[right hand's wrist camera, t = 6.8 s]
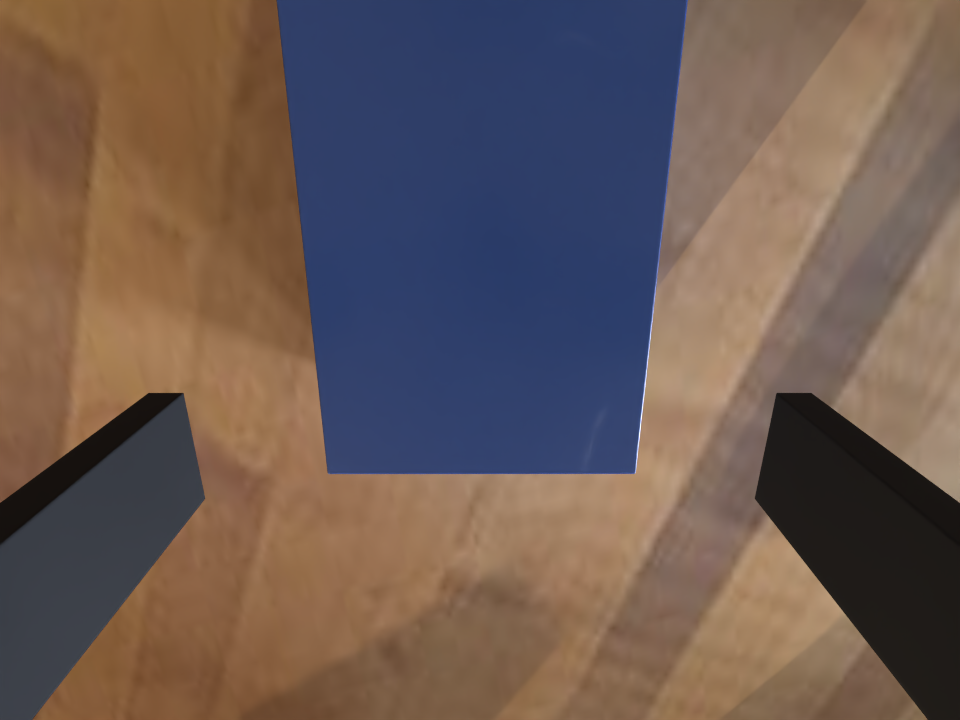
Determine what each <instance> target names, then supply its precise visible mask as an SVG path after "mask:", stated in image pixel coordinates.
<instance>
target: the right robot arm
mask: <svg viewBox="0 0 960 720" xmlns="http://www.w3.org/2000/svg"><path fill="white" fill-rule="evenodd" d="M204 499H205V496H204V491H203V486H202V481H201V476H200V471H199V466H198V462H197V457H196V452H195V447H194V442H193V437H192V433H191V428H190V423H189V418H188V413H187V408H186V403H185V399H184V394H183V393H148V394H147V395H146V396H144V397H143V398H141V399H140V400H139V401H137V402H136V403H135V404H133V405H132V406H131V407H129V408H128V409H127V410H125V411H124V412H123V413H121V414H120V415H119V416H117V417H116V418H114V419H113V420H112V421H110V422H109V423H108V424H106V425H105V426H104V427H102V428H101V429H100V430H98V431H97V432H96V433H94V434H93V435H92V436H90V437H89V438H87V439H86V440H85V441H83V442H82V443H81V444H79V445H78V446H77V447H75V448H74V449H73V450H71V451H70V452H69V453H67V454H66V455H65V456H63V457H62V458H60V459H59V460H58V461H56V462H55V463H54V464H52V465H51V466H50V467H48V468H47V469H46V470H44V471H43V472H42V473H40V474H39V475H38V476H36V477H35V478H33V479H32V480H31V481H29V482H28V483H27V484H25V485H24V486H23V487H21V488H20V489H19V490H17V491H16V492H15V493H13V494H12V495H11V496H9V497H8V498H6V499H5V500H4V501H2V502H1V503H0V720H32V719H33V718H34V716H35V715H36V714H37V713H38V711H39V710H40V709H41V708H42V706H43V705H44V704H45V702H46V701H47V700H48V699H49V697H50V696H51V695H52V693H53V692H54V691H55V690H56V688H57V687H58V686H59V685H60V683H61V682H62V681H63V679H64V678H65V677H66V676H67V674H68V673H69V672H70V670H71V669H72V668H73V667H74V665H75V664H76V663H77V662H78V660H79V659H80V658H81V656H82V655H83V654H84V653H85V651H86V650H87V649H88V648H89V646H90V645H91V644H92V642H93V641H94V640H95V639H96V637H97V636H98V635H99V633H100V632H101V631H102V630H103V628H104V627H105V626H106V625H107V623H108V622H109V621H110V619H111V618H112V617H113V616H114V614H115V613H116V612H117V610H118V609H119V608H120V607H121V605H122V604H123V603H124V602H125V600H126V599H127V598H128V596H129V595H130V594H131V593H132V591H133V590H134V589H135V588H136V586H137V585H138V584H139V582H140V581H141V580H142V579H143V577H144V576H145V575H146V573H147V572H148V571H149V570H150V568H151V567H152V566H153V565H154V563H155V562H156V561H157V559H158V558H159V557H160V556H161V554H162V553H163V552H164V550H165V549H166V548H167V547H168V545H169V544H170V543H171V542H172V540H173V539H174V538H175V536H176V535H177V534H178V533H179V531H180V530H181V529H182V528H183V526H184V525H185V524H186V522H187V521H188V520H189V519H190V517H191V516H192V515H193V513H194V512H195V511H196V510H197V508H198V507H199V506H200V505H201V503H202V502H203V501H204ZM755 499H756V501H757V502H758V503H759V505H760V506H761V507H762V508H763V510H764V511H765V512H766V513H767V515H768V516H769V517H770V519H771V520H772V521H773V522H774V524H775V525H776V526H777V528H778V529H779V530H780V531H781V533H782V534H783V535H784V536H785V538H786V539H787V540H788V542H789V543H790V544H791V545H792V547H793V548H794V549H795V550H796V552H797V553H798V554H799V556H800V557H801V558H802V559H803V561H804V562H805V563H806V565H807V566H808V567H809V568H810V570H811V571H812V572H813V573H814V575H815V576H816V577H817V579H818V580H819V581H820V582H821V584H822V585H823V586H824V588H825V589H826V590H827V591H828V593H829V594H830V595H831V596H832V598H833V599H834V600H835V602H836V603H837V604H838V605H839V607H840V608H841V609H842V610H843V612H844V613H845V614H846V616H847V617H848V618H849V619H850V621H851V622H852V623H853V625H854V626H855V627H856V628H857V630H858V631H859V632H860V633H861V635H862V636H863V637H864V639H865V640H866V641H867V642H868V644H869V645H870V646H871V648H872V649H873V650H874V651H875V653H876V654H877V655H878V656H879V658H880V659H881V660H882V662H883V663H884V664H885V665H886V667H887V668H888V669H889V670H890V672H891V673H892V674H893V676H894V677H895V678H896V679H897V681H898V682H899V683H900V685H901V686H902V687H903V688H904V690H905V691H906V692H907V693H908V695H909V696H910V697H911V699H912V700H913V701H914V702H915V704H916V705H917V706H918V708H919V709H920V710H921V711H922V713H923V714H924V715H925V716H926V718H927V719H928V720H960V503H959V502H958V501H956V500H955V499H954V498H952V497H951V496H949V495H948V494H947V493H945V492H944V491H943V490H941V489H940V488H939V487H937V486H936V485H935V484H933V483H932V482H931V481H929V480H928V479H927V478H925V477H924V476H922V475H921V474H920V473H918V472H917V471H916V470H914V469H913V468H912V467H910V466H909V465H908V464H906V463H905V462H904V461H902V460H901V459H900V458H898V457H897V456H895V455H894V454H893V453H891V452H890V451H889V450H887V449H886V448H885V447H883V446H882V445H881V444H879V443H878V442H877V441H875V440H874V439H873V438H871V437H870V436H868V435H867V434H866V433H864V432H863V431H862V430H860V429H859V428H858V427H856V426H855V425H854V424H852V423H851V422H850V421H848V420H847V419H846V418H844V417H843V416H841V415H840V414H839V413H837V412H836V411H835V410H833V409H832V408H831V407H829V406H828V405H827V404H825V403H824V402H823V401H821V400H820V399H819V398H817V397H816V396H814V395H813V394H812V393H777V394H776V399H775V403H774V408H773V413H772V418H771V423H770V428H769V433H768V437H767V442H766V447H765V452H764V457H763V462H762V466H761V471H760V476H759V481H758V486H757V491H756V496H755Z"/></svg>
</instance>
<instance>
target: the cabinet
mask: <svg viewBox="0 0 960 720" xmlns="http://www.w3.org/2000/svg"><path fill="white" fill-rule="evenodd" d="M687 2H688V0H277V8H278V17H279V27H280V36H281V45H282V54H283V64H284V73H285V82H286V91H287V101H288V110H289V119H290V128H291V138H292V147H293V156H294V166H295V175H296V184H297V193H298V203H299V212H300V221H301V230H302V240H303V249H304V258H305V267H306V277H307V286H308V295H309V304H310V314H311V323H312V332H313V342H314V351H315V360H316V369H317V379H318V388H319V397H320V406H321V416H322V425H323V434H324V443H325V453H326V462H327V471H328V474H635V473H636V465H637V456H638V446H639V437H640V428H641V419H642V410H643V401H644V392H645V383H646V374H647V365H648V356H649V347H650V338H651V329H652V319H653V310H654V301H655V292H656V283H657V274H658V265H659V256H660V247H661V238H662V229H663V220H664V211H665V202H666V192H667V183H668V174H669V165H670V156H671V147H672V138H673V129H674V120H675V111H676V102H677V93H678V84H679V75H680V65H681V56H682V47H683V38H684V29H685V20H686V11H687Z"/></svg>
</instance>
